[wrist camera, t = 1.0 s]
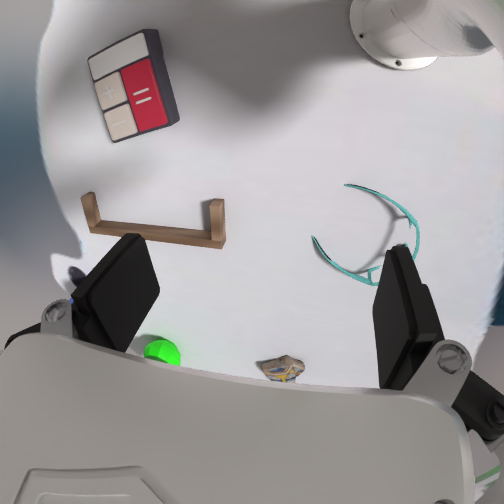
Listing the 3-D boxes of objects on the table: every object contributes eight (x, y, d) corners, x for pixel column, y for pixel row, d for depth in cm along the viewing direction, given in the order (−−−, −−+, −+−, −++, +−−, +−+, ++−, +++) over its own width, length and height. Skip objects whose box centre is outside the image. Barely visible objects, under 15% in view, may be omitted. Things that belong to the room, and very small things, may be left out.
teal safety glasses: (380, 281, 47) (381, 300, 43) (306, 240, 48) (302, 257, 44) (429, 220, 39) (437, 235, 35) (351, 168, 39) (351, 178, 35)
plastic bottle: (144, 330, 70) (100, 411, 50) (180, 336, 67) (139, 426, 47) (157, 353, 75) (121, 429, 55) (191, 359, 73) (158, 442, 53)
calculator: (110, 145, 39) (83, 59, 30) (125, 136, 42) (100, 56, 33) (170, 126, 36) (142, 27, 27) (183, 119, 39) (157, 28, 30)
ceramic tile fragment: (298, 392, 67) (259, 386, 69) (300, 381, 70) (261, 376, 71) (305, 366, 60) (260, 360, 62) (307, 355, 63) (263, 349, 64)
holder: (88, 192, 49) (80, 198, 47) (223, 199, 44) (219, 206, 42) (97, 226, 53) (90, 232, 51) (225, 240, 49) (221, 249, 47)
